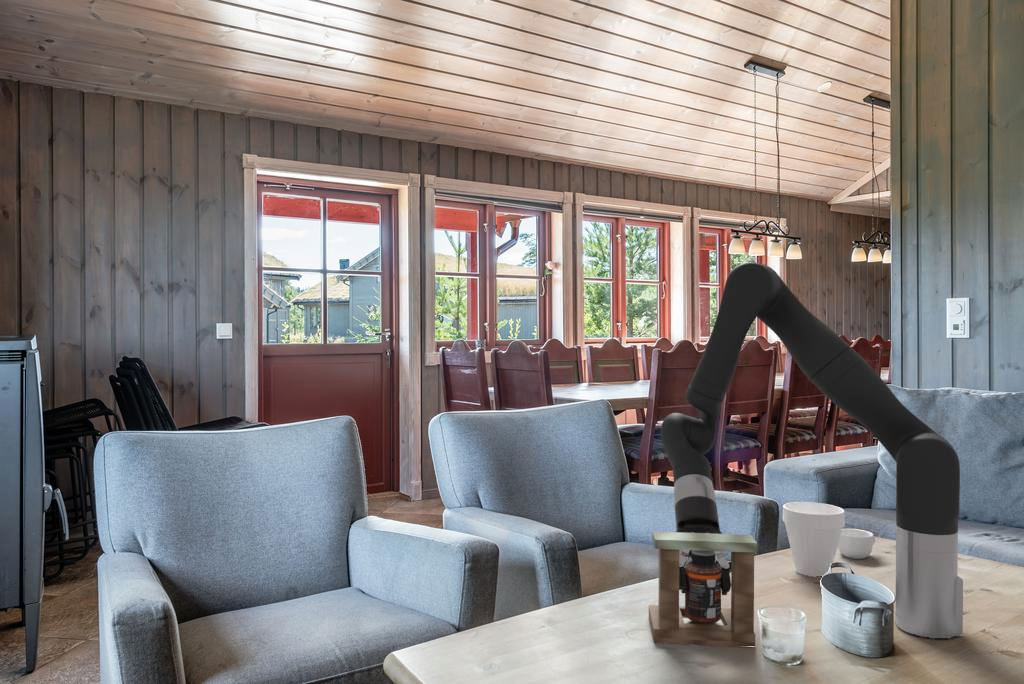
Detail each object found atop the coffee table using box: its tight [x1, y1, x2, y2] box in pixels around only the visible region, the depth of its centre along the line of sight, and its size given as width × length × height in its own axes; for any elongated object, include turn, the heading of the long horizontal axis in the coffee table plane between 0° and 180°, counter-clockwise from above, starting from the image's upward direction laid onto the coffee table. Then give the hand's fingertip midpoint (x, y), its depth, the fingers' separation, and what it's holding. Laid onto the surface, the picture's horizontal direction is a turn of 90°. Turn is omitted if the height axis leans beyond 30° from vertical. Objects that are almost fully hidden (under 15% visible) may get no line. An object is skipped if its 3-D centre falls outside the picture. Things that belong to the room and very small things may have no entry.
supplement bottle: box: [684, 550, 722, 624], centre depth 125 cm, size 6×6×11 cm
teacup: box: [837, 528, 876, 560], centre depth 169 cm, size 10×8×5 cm
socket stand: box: [648, 531, 758, 648], centre depth 124 cm, size 16×12×17 cm
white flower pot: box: [782, 501, 846, 577], centre depth 157 cm, size 12×12×14 cm
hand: (704, 591), depth 123 cm, fingers open, 6 cm apart
